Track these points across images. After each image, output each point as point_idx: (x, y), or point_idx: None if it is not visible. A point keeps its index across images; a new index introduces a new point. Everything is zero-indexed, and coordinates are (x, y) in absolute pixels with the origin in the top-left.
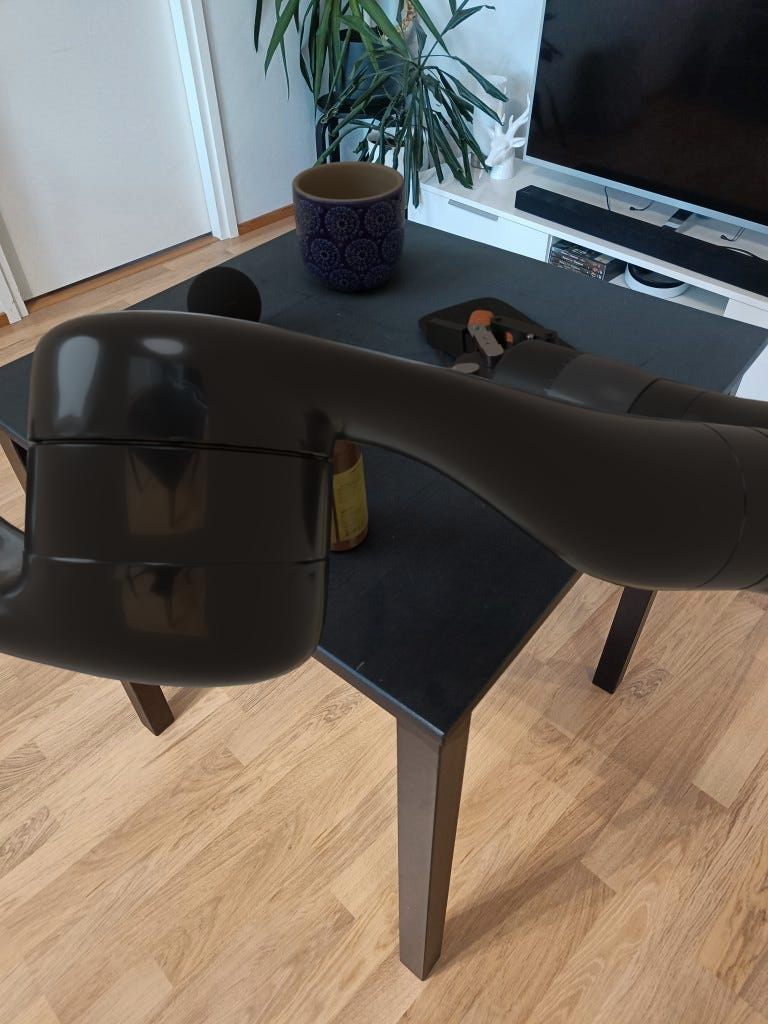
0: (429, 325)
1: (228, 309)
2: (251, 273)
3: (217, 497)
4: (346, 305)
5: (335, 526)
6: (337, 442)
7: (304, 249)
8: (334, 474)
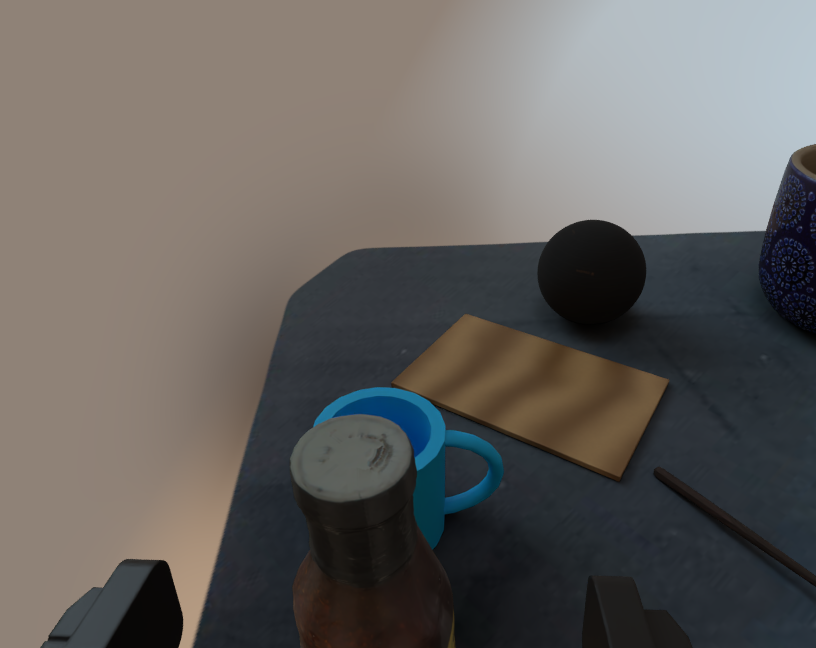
0: (593, 594)
1: (577, 278)
2: (688, 254)
3: None
4: (788, 350)
5: None
6: (338, 638)
7: (765, 247)
8: None
